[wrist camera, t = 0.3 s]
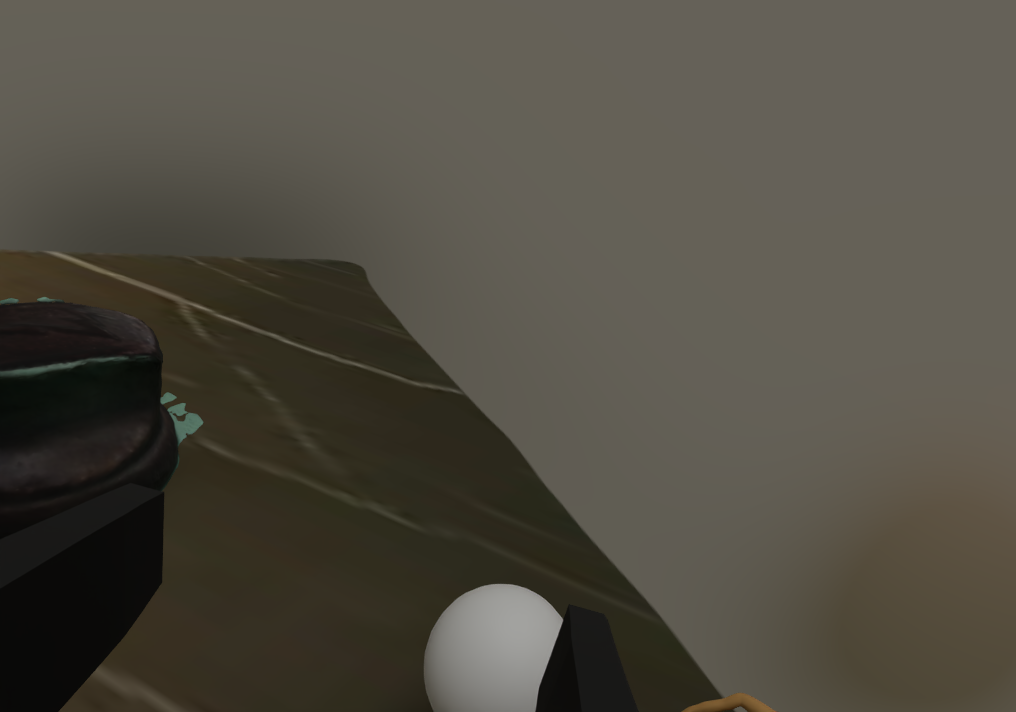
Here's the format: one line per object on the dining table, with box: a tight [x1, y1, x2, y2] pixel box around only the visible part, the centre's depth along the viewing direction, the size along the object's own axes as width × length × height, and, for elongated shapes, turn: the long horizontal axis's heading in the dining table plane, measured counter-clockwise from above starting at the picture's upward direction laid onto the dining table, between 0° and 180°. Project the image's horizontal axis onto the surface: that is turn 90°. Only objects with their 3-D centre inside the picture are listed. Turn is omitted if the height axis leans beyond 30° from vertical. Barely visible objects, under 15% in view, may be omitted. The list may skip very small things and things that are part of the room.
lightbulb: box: [424, 584, 563, 712], centre depth 27 cm, size 6×6×11 cm
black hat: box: [0, 297, 203, 539], centre depth 37 cm, size 20×20×9 cm
